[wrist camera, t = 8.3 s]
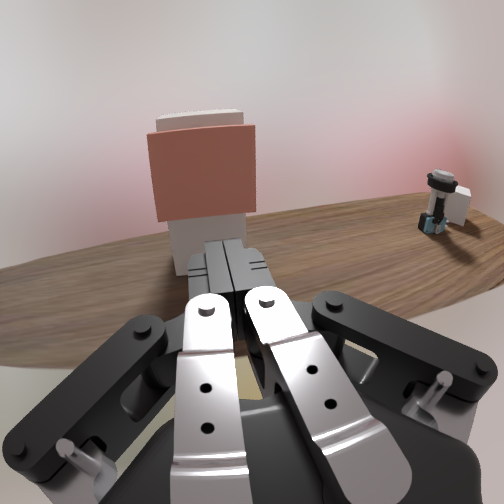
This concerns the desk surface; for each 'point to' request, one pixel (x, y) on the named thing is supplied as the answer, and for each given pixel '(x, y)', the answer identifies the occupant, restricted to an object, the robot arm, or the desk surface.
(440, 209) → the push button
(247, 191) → the plug
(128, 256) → the desk surface
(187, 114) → the socket block
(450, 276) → the desk surface
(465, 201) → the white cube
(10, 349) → the desk surface
